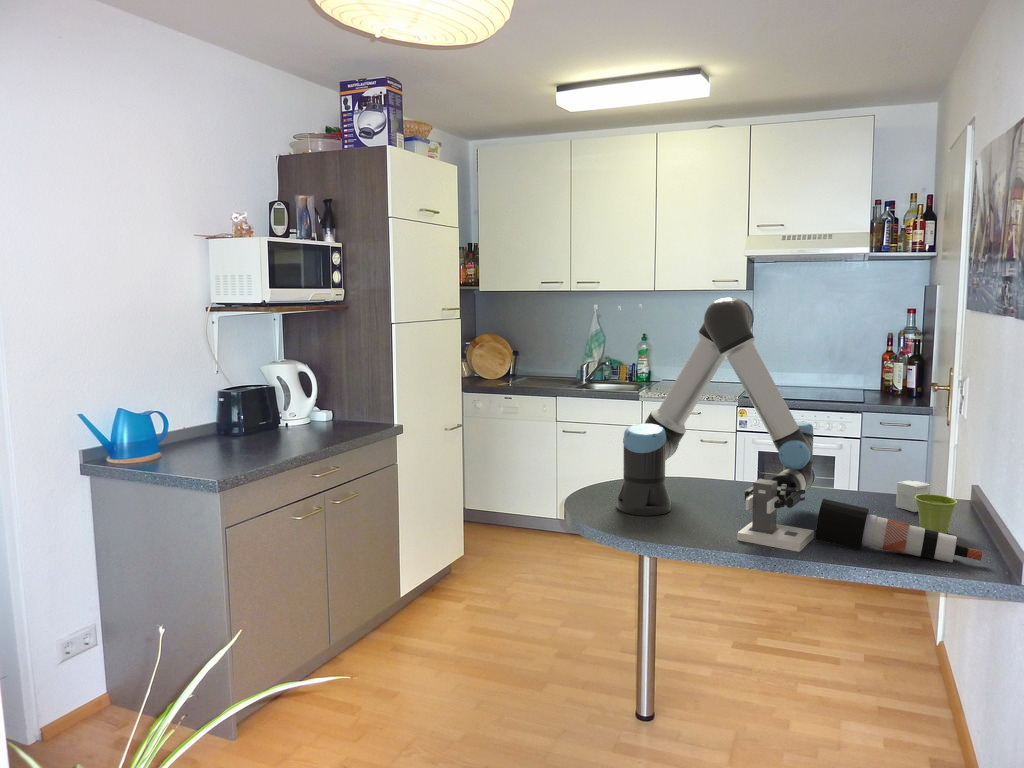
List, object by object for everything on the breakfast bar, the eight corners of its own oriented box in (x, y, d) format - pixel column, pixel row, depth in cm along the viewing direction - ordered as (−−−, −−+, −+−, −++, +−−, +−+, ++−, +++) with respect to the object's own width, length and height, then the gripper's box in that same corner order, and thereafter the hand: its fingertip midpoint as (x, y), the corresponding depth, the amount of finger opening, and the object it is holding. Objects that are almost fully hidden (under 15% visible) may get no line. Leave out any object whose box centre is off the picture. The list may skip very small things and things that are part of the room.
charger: (752, 529, 190) (753, 482, 188) (758, 524, 194) (759, 478, 192) (770, 532, 187) (771, 485, 186) (776, 527, 191) (777, 481, 190)
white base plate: (737, 540, 189) (737, 531, 188) (753, 527, 198) (753, 519, 198) (799, 551, 180) (799, 542, 180) (813, 538, 189) (813, 529, 189)
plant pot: (936, 525, 199) (938, 492, 197) (964, 536, 189) (966, 502, 188) (904, 527, 197) (906, 494, 196) (930, 539, 188) (932, 504, 187)
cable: (976, 588, 169) (984, 556, 163) (814, 548, 185) (816, 518, 179) (978, 555, 176) (986, 524, 170) (822, 520, 192) (825, 490, 186)
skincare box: (914, 512, 210) (915, 486, 209) (895, 507, 215) (896, 481, 214) (929, 509, 212) (930, 484, 211) (910, 504, 218) (911, 479, 217)
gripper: (820, 504, 199) (794, 527, 181) (754, 494, 210) (722, 515, 191) (821, 476, 198) (795, 496, 180) (754, 468, 209) (722, 486, 190)
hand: (757, 506), depth 185 cm, fingers closed on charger, 4 cm apart
